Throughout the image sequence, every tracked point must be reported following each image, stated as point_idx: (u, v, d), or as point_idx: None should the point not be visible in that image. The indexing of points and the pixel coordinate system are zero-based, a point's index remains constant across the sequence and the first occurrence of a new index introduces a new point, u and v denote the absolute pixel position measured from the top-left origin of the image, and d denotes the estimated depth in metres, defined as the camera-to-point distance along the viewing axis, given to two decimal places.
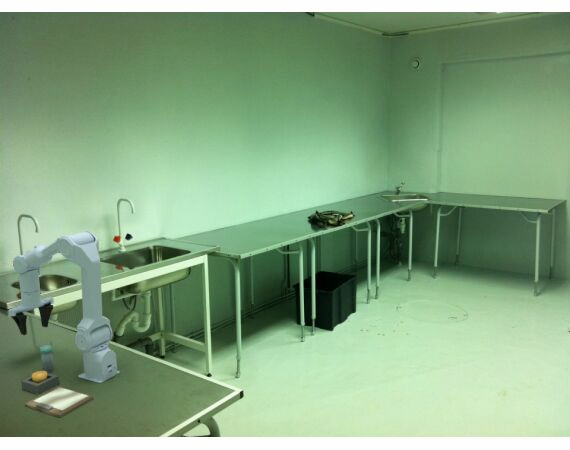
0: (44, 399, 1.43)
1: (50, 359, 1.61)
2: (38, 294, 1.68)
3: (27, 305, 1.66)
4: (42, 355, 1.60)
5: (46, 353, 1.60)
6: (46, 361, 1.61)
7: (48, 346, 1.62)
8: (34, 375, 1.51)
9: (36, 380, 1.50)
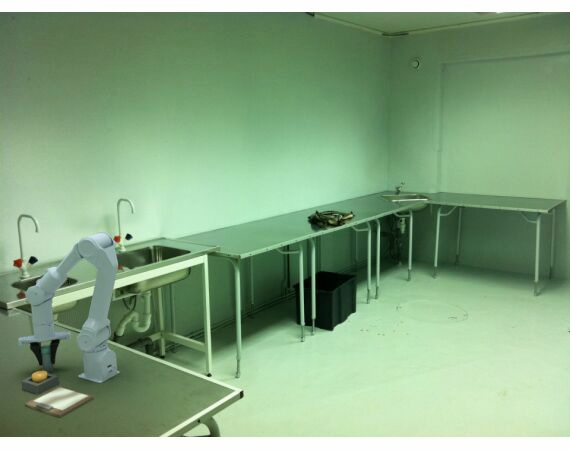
0: (44, 399, 1.43)
1: (50, 359, 1.61)
2: (45, 328, 1.58)
3: (35, 337, 1.59)
4: (42, 355, 1.60)
5: (46, 353, 1.60)
6: (46, 361, 1.61)
7: (48, 346, 1.62)
8: (34, 375, 1.51)
9: (36, 380, 1.50)
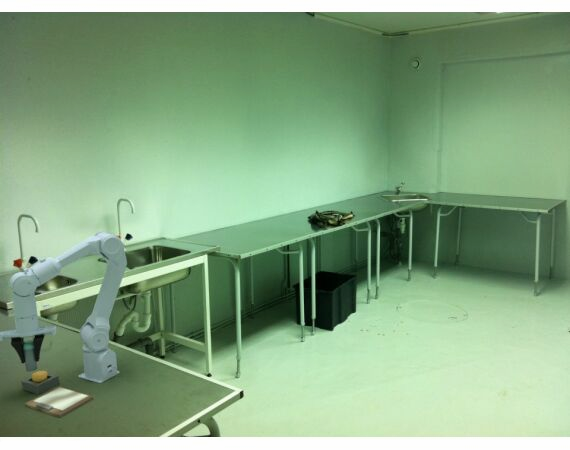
0: (44, 399, 1.43)
1: (33, 356, 1.47)
2: (27, 321, 1.43)
3: (16, 332, 1.44)
4: (24, 351, 1.46)
5: (29, 350, 1.46)
6: (28, 358, 1.46)
7: (31, 342, 1.47)
8: (34, 375, 1.51)
9: (36, 380, 1.50)
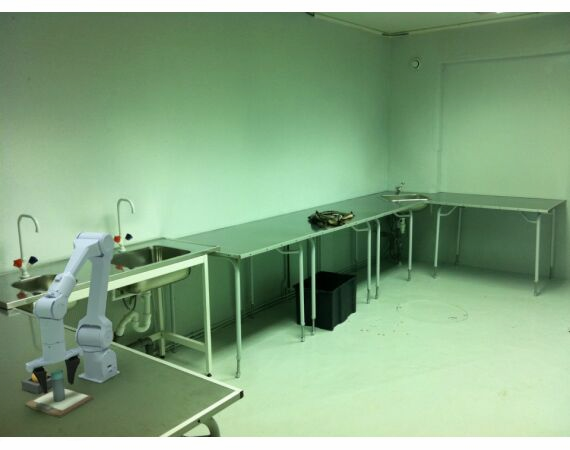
0: (44, 399, 1.43)
1: (63, 385, 1.42)
2: (60, 346, 1.39)
3: (47, 359, 1.38)
4: (55, 382, 1.40)
5: (60, 379, 1.41)
6: (60, 387, 1.41)
7: (59, 370, 1.42)
8: (34, 375, 1.51)
9: (36, 380, 1.50)
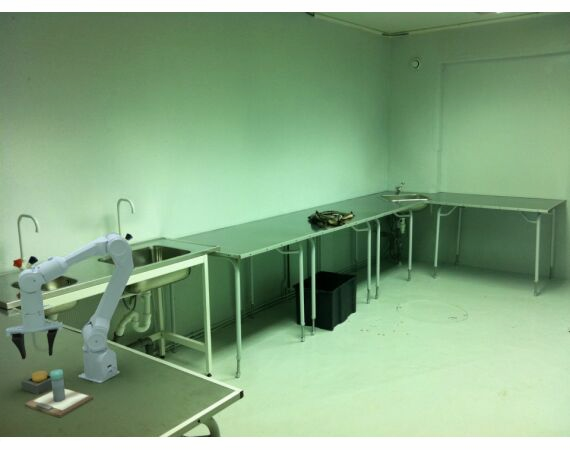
0: (44, 399, 1.43)
1: (63, 385, 1.42)
2: (34, 317, 1.46)
3: (23, 327, 1.47)
4: (55, 382, 1.40)
5: (60, 379, 1.41)
6: (59, 387, 1.41)
7: (59, 370, 1.42)
8: (34, 375, 1.51)
9: (36, 380, 1.50)
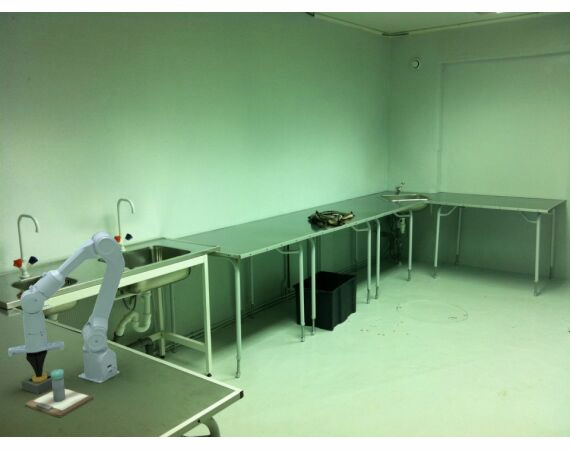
0: (44, 399, 1.43)
1: (63, 385, 1.42)
2: (36, 337, 1.47)
3: (26, 347, 1.48)
4: (55, 381, 1.41)
5: (60, 378, 1.41)
6: (60, 387, 1.41)
7: (59, 370, 1.42)
8: (34, 377, 1.51)
9: (36, 382, 1.50)
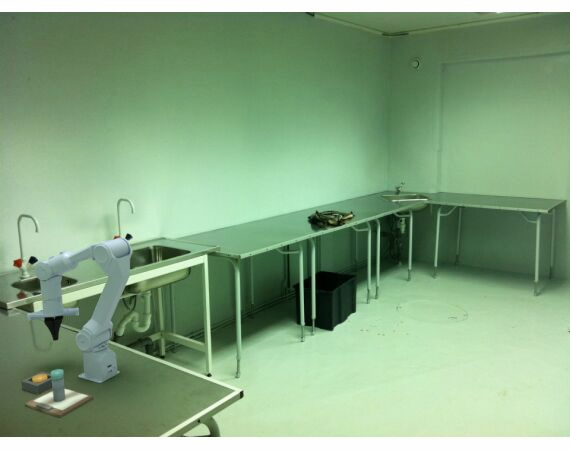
0: (44, 399, 1.43)
1: (63, 384, 1.42)
2: (54, 303, 1.59)
3: (43, 312, 1.60)
4: (55, 381, 1.41)
5: (60, 378, 1.41)
6: (59, 387, 1.41)
7: (59, 370, 1.42)
8: (34, 378, 1.51)
9: None
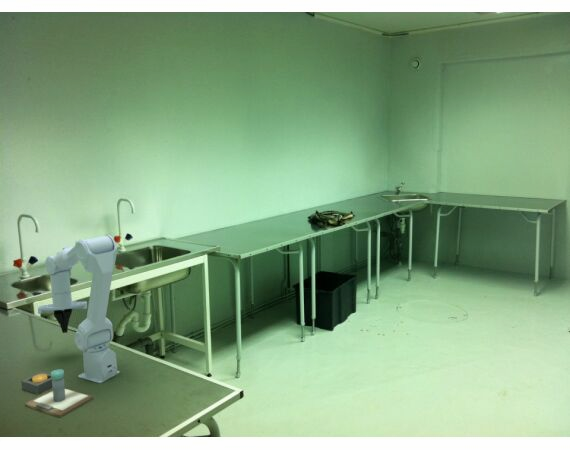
0: (44, 399, 1.43)
1: (63, 385, 1.42)
2: (63, 296, 1.65)
3: (53, 306, 1.66)
4: (55, 381, 1.41)
5: (60, 379, 1.41)
6: (60, 387, 1.41)
7: (60, 370, 1.42)
8: (34, 378, 1.51)
9: None
